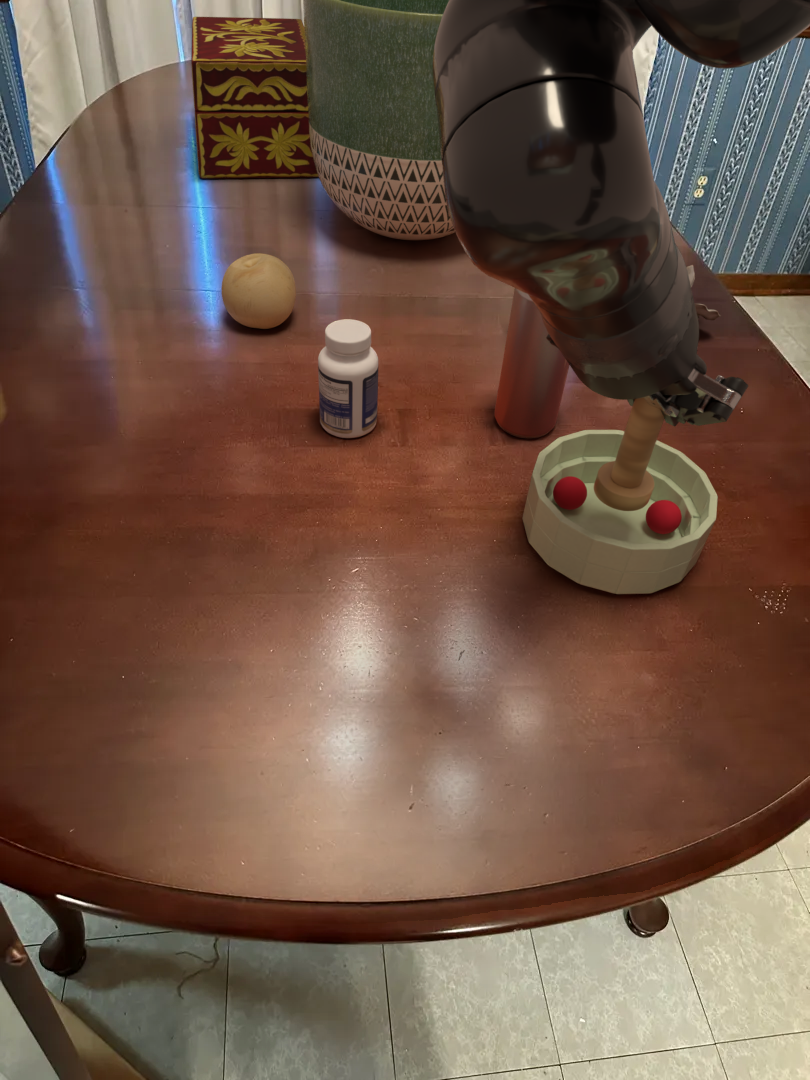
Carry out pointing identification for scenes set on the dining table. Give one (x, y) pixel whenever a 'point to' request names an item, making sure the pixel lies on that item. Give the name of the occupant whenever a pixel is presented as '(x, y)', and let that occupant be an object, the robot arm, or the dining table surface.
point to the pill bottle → (348, 380)
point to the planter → (377, 113)
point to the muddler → (631, 461)
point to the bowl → (617, 517)
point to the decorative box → (251, 98)
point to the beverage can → (529, 374)
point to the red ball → (570, 493)
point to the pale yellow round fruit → (259, 291)
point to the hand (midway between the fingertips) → (660, 403)
